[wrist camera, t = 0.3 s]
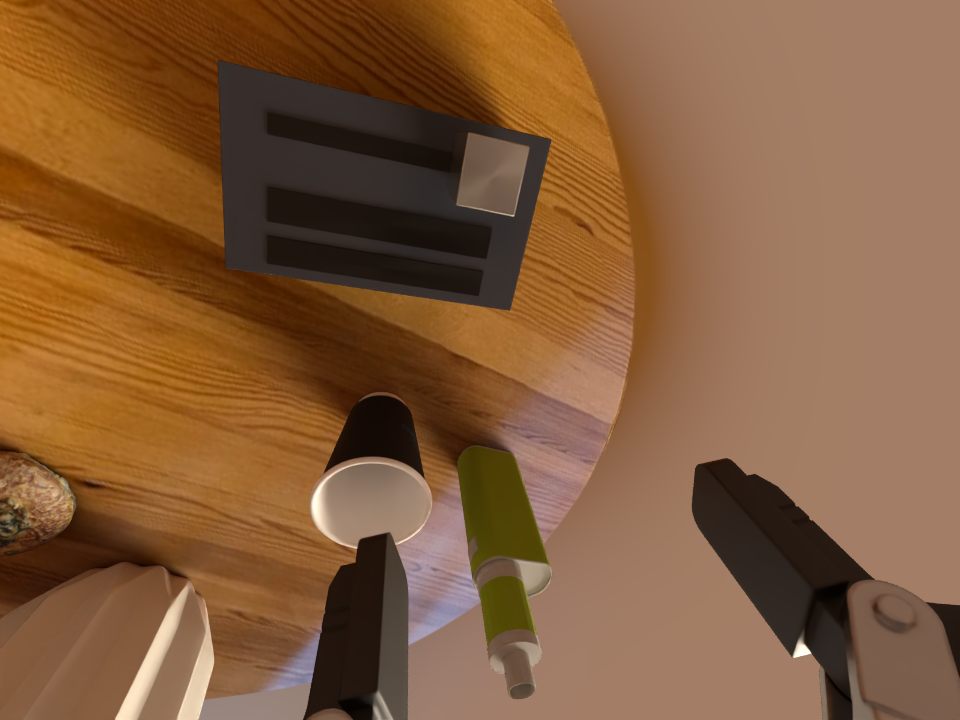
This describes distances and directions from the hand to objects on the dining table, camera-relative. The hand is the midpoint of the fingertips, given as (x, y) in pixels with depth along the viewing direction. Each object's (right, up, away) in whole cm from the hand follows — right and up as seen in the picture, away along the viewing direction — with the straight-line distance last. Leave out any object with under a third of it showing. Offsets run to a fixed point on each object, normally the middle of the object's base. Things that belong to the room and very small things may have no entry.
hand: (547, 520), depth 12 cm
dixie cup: (-10, -1, +28) cm, 30 cm away
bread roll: (-42, -7, +26) cm, 50 cm away
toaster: (-8, +16, +19) cm, 26 cm away
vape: (-1, -6, +32) cm, 32 cm away
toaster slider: (-2, +13, +10) cm, 17 cm away
